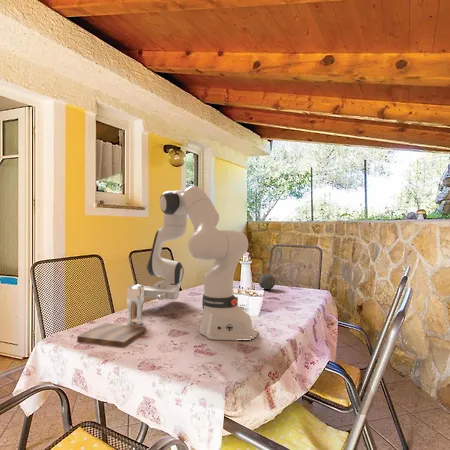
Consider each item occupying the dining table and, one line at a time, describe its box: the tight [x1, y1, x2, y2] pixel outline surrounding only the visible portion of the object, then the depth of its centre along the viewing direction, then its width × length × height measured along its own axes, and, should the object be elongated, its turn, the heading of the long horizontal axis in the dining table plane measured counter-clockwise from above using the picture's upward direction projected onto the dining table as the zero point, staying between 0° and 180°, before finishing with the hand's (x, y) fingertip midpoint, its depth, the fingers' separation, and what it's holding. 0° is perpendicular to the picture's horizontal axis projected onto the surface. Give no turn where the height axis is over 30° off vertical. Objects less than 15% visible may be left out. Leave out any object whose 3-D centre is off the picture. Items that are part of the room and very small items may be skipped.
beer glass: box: [126, 284, 145, 326], centre depth 138 cm, size 7×7×15 cm
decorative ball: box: [258, 273, 276, 290], centre depth 209 cm, size 10×10×10 cm
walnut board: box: [76, 322, 147, 347], centre depth 122 cm, size 18×16×2 cm
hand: (148, 296), depth 149 cm, fingers open, 8 cm apart
